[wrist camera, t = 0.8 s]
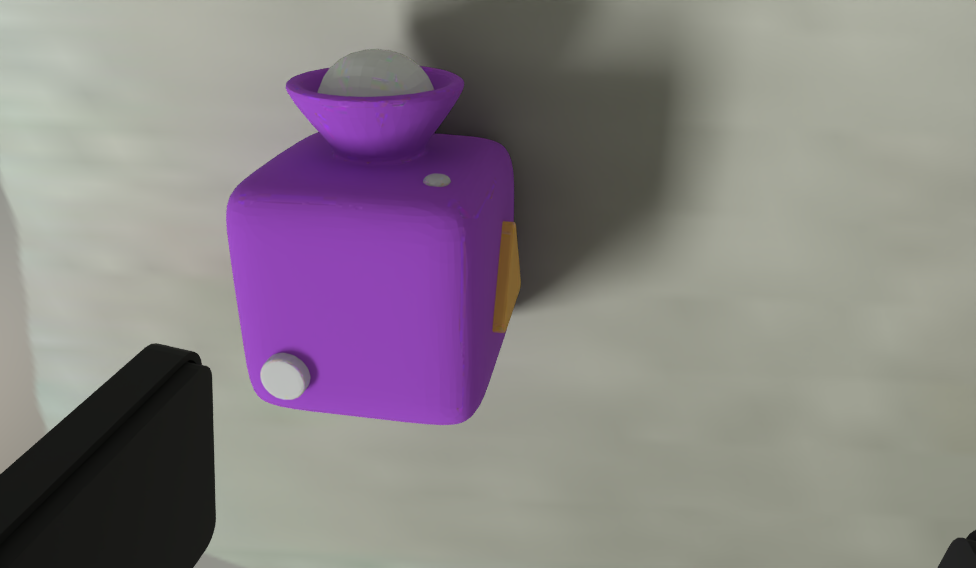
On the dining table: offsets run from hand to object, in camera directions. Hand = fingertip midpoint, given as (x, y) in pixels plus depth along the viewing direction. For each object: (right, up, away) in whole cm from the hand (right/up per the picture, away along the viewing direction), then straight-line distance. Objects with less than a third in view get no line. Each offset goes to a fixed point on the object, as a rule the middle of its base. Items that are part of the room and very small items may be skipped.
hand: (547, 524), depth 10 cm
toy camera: (-4, +7, +25) cm, 27 cm away
